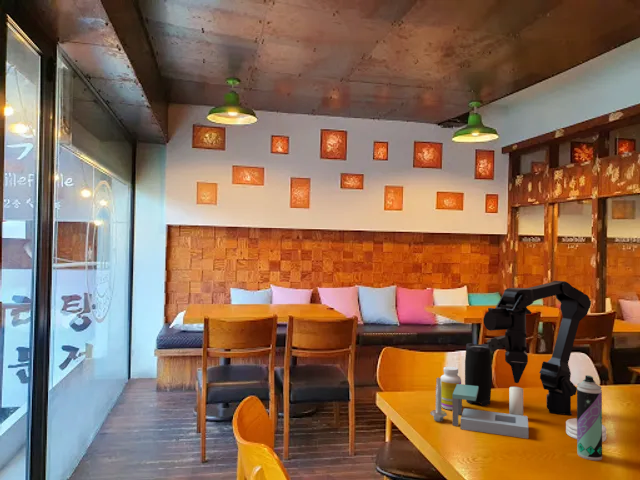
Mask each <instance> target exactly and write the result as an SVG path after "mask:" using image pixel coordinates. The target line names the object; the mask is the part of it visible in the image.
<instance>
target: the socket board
mask: <svg viewBox="0 0 640 480" xmlns="http://www.w3.org/2000/svg"><path fill="white" fill-rule="evenodd" d="M528 418H529V417H528V416H527V415H523V416H521V415H513V414H509V413H504V412H498V411H497V412H495V411H490V410H489V411H488V410H487V411H486V410H480V409H472V408H464V407H463V409H462V415H460V430H464V431H465V430H466V431H472V432H473V431H474V432H478V433H479V432H480V433H487V434H493V435H500V436H508V437H514V438H521V439H529V420H528Z"/></svg>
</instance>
